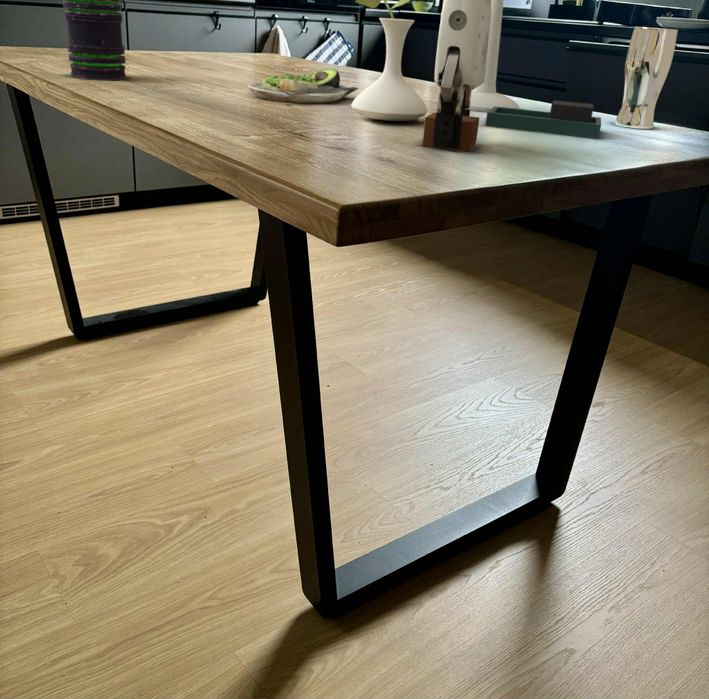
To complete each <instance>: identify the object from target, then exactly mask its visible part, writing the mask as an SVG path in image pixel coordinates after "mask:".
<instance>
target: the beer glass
mask: <svg viewBox="0 0 709 699" xmlns="http://www.w3.org/2000/svg"><path fill="white" fill-rule="evenodd" d="M678 31H679V30H678V29H675V28H674V29H673V28H661V27H649V26H648V27H647V26H634V27H633V31H632V34H631V38H630V42H629V45H628V49H627V53H626V57H625V62H624V72H623V93H622V99H621V100H622V101H621V103H620V104H621V105H620V108H619V110H618V113H617V116H616V118H615V120H614V124H615V125H617V126H619V127H624V128H630V129H639V130H651V129H653V127H654V121H655V120H654V118H655V111H656V110H655V109H656V104H657V101H658V99H659V96H660V93H661V92H662V89H663V86H664V84H665V81H666V79H667V77H668V74H669V71H670V68H671V65H672V63H673V62H672V61H673V58H674V53H675V49H676V42H677V36H678Z"/></svg>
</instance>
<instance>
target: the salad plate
mask: <svg viewBox="0 0 709 699" xmlns="http://www.w3.org/2000/svg"><path fill="white" fill-rule="evenodd" d="M247 88H248V90H249V91H250V92H251V93H253V95H255V96H256V97H257V98H259V99H263V100H268V101H276V102H286V103H297V104H327V103H328V104H329V103H335V102H337V101H341V100H343V99H344V98H345V97H347V96H348V95H350V94H352V93H353V92H356V91H357V90H359V87H355V86H351V87H350V86H349V87H348V86H346V85H341V76H340V73H339V71H338V69H336V68H325V69H320V70H317V71H314V72H313V73H311V74H309V75H308V74H307V75H306V74H302V75H297V74H291V73H288V72H286V73H284V74H280V75H279V74H274V75H273V74H272V75H271V76H269V77H266V78H264V79H263V80H259V81H257V82H255V83H251V84H248V85H247Z"/></svg>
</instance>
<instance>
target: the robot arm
mask: <svg viewBox="0 0 709 699" xmlns="http://www.w3.org/2000/svg"><path fill="white" fill-rule="evenodd" d="M491 2H492V0H443V1H442V8H441V13H440V23H439V29H438V37H437V46H436V53H435V54H436V55H435V63H434V64H435V65H434V83H435V84H436V86H438V87H439V88H440V89H439V94H438V95H439V96H438V99H437V100H438V101H437V105H436V106H437V108H436V112H435V113H436V118H435V127H434V136H433V145H434V146H435V147H442V148H441V149H443V148H451V149H450V150H452V149H457V148H458V147H459V141H460V134H461V126H462V118H463V116H470V117H471V110H469V108H470V102H471V91H473V90H474V89H475V88H477V87H479V86H480V85H481V84H483V83H484V79H485V71H486V60H487V51H488V42H489V33H490V22H491ZM435 147H434V148H435Z"/></svg>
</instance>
